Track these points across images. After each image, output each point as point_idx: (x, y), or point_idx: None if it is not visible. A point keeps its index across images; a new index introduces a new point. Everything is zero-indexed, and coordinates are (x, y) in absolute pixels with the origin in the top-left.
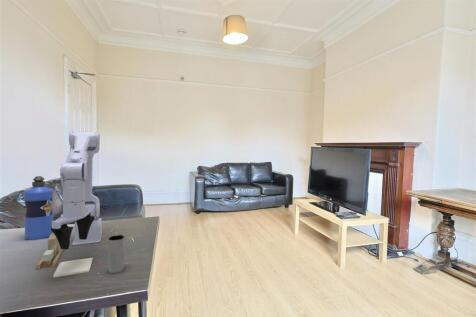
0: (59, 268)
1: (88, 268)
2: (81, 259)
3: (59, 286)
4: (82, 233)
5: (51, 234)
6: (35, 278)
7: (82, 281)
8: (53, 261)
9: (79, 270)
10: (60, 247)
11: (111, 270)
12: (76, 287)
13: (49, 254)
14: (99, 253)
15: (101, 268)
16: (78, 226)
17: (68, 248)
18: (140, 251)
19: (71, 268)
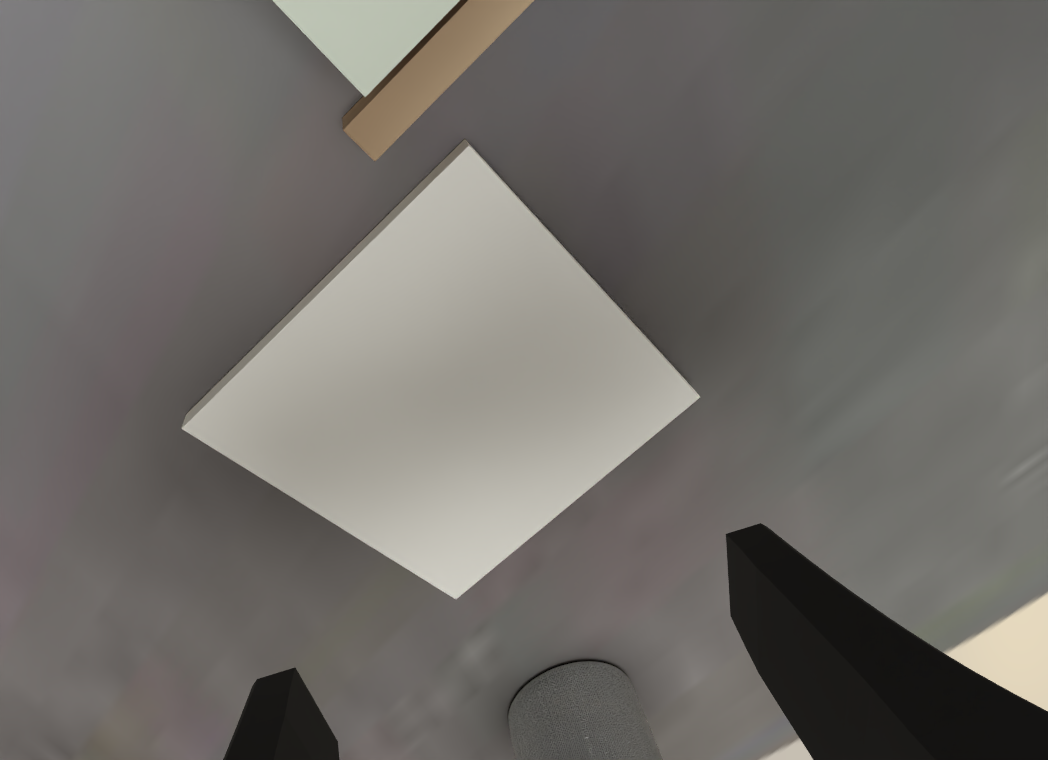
0: (334, 321)
1: (476, 572)
2: (623, 330)
3: (133, 608)
4: (795, 671)
5: None
6: (38, 241)
7: (304, 671)
8: (402, 83)
9: (408, 541)
10: (245, 710)
11: (512, 744)
12: (215, 711)
13: (351, 82)
14: (846, 317)
15: (548, 607)
16: (910, 754)
17: (334, 745)
18: (923, 602)
19: (401, 440)
